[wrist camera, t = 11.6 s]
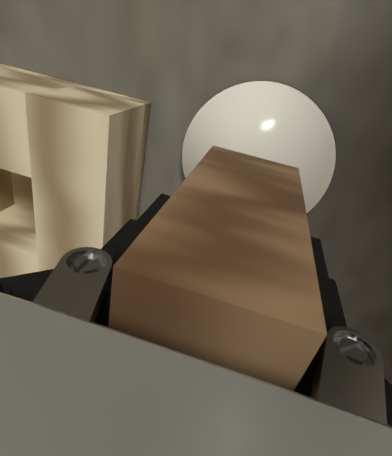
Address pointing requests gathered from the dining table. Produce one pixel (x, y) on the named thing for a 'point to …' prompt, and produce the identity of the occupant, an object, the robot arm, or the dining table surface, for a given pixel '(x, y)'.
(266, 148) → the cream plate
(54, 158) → the birch pocket block
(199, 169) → the walnut peg
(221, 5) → the dining table surface
